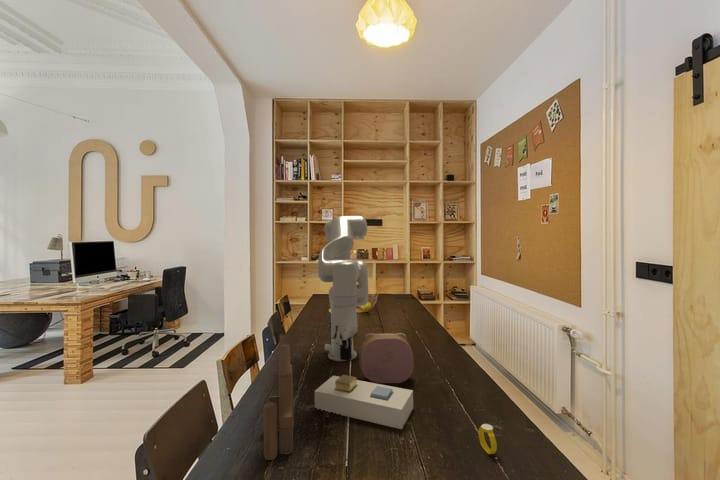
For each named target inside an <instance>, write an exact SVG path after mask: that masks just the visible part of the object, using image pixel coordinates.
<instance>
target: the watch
mask: <svg viewBox="0 0 720 480" xmlns="http://www.w3.org/2000/svg"><path fill="white" fill-rule="evenodd" d="M485 433H487V435H488V437H489V443H490V447H489V446H488V444H487V442H486V438H485ZM478 439H479V443H480V445H481V448H483V450H484V452H486V453H487V455H495V454H496V452H497V449H498V448H497V447H498V446H497V445H498V443H497V440H496V436H495V434H494V427H493V425H491V424H489V423H483V424H482V425H481V426H479V428H478Z"/></svg>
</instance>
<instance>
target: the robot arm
mask: <svg viewBox="0 0 720 480" xmlns="http://www.w3.org/2000/svg"><path fill="white" fill-rule="evenodd" d="M367 232H368V222H367V220H366V218H365V217H364V216H362V215H339V216H336V217H334V218H333V219H332V220H329V221H327V222H326V223H324V234H325V237H326V240H327V243H326V244H325V245H324V246H323V247H322V249H321V250H320V252H319V253H318V254H319V255H318V259H317V260H318V263H317V264H318V265H317V275H318V278H319V280H320V281H321V282H324V283H332V286H331V287H330V288H329V290H328V300H329V307H330V337H331V344H328V343H325V344H324V351H328V354H327V356H328V359H329V360H331V361H333V362H334V361H335V362H347V361H352V360H354V359H356V357H357V356H358V355H357V351H356V350H354V337H355V334H357V332H358V312H357V311H358V310H357V307H363V306H366V305H367V304H368V302H369V276H368V275H369V272H368V265H367V263H366V261H365V260H362V259H351V250H352V249H353V248H354V246H355V245H354V240H363V239H364V238H365V237H366V235H367Z"/></svg>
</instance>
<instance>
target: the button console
mask: <svg viewBox="0 0 720 480" xmlns="http://www.w3.org/2000/svg"><path fill="white" fill-rule="evenodd" d="M339 377H340V376H339V375H337V376H336V375H332V376H331V377H330V378H328V379H327V380H326V381H325V382H323V383H322V384H321V385H320V386H319V387H317V388H316V389H315V390H314V409H315V408H317V409H316V410H319V409H321V410H320V411H323V410H325V411H324V412H327V411H328V413H331V412H333V414H335V413H336V415H339V414H340V416H344V417H348V418H352V419H357V420H360V421H361V420H362V421H365V422H370V423H374V424H376V425H377V424H378V425H382V426H387V427H389V428H390V427H391V428H394V429H398V430H403V428H404V426H405V424H406V423H407V421H408V419H409V417H410V415H411V414H412V411H413V409H414V390H413V389H408V388H402V387H397V386H391V385H386V384H382V383H374V382H372V381H370V382H369V381H364V380H359V379H357V386H356V387H355V388H354V389H353V390H352V391H351V392H350V393H348V392H343V391H338V390H336V386H335V381H336V380H337V379H338V378H339ZM377 386H380V387H385V388H390V389H392V395H391V397H390V398H389V400H388V401H386V400H382V399H377V398H372V397H371V393H372V391H373V390H374V389H375V388H376V387H377Z"/></svg>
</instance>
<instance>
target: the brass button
mask: <svg viewBox="0 0 720 480" xmlns="http://www.w3.org/2000/svg"><path fill="white" fill-rule="evenodd" d="M338 377H339V378H338V379H337V380H336V381H335V386H336V390H338V391H343V392H348V393H350V392H351V391H352V390H353V389H354V388H355V387H356V386H357V380H358V379H357V376H352V375H347V374H342V375H341V376H338Z"/></svg>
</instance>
